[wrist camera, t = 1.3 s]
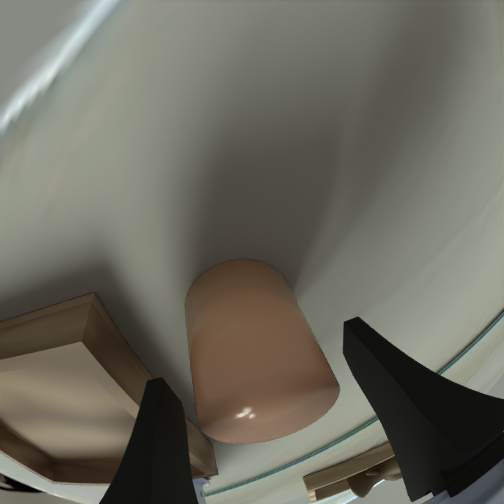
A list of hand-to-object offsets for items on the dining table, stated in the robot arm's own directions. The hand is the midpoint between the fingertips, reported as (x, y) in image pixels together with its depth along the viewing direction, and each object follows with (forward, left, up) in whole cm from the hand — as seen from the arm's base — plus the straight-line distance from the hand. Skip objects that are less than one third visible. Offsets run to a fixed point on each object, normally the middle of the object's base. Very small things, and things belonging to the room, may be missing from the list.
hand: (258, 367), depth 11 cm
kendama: (-46, -14, -4) cm, 48 cm away
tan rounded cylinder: (0, 0, -4) cm, 4 cm away
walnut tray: (-6, +15, -4) cm, 17 cm away
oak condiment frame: (-46, -14, -4) cm, 48 cm away
